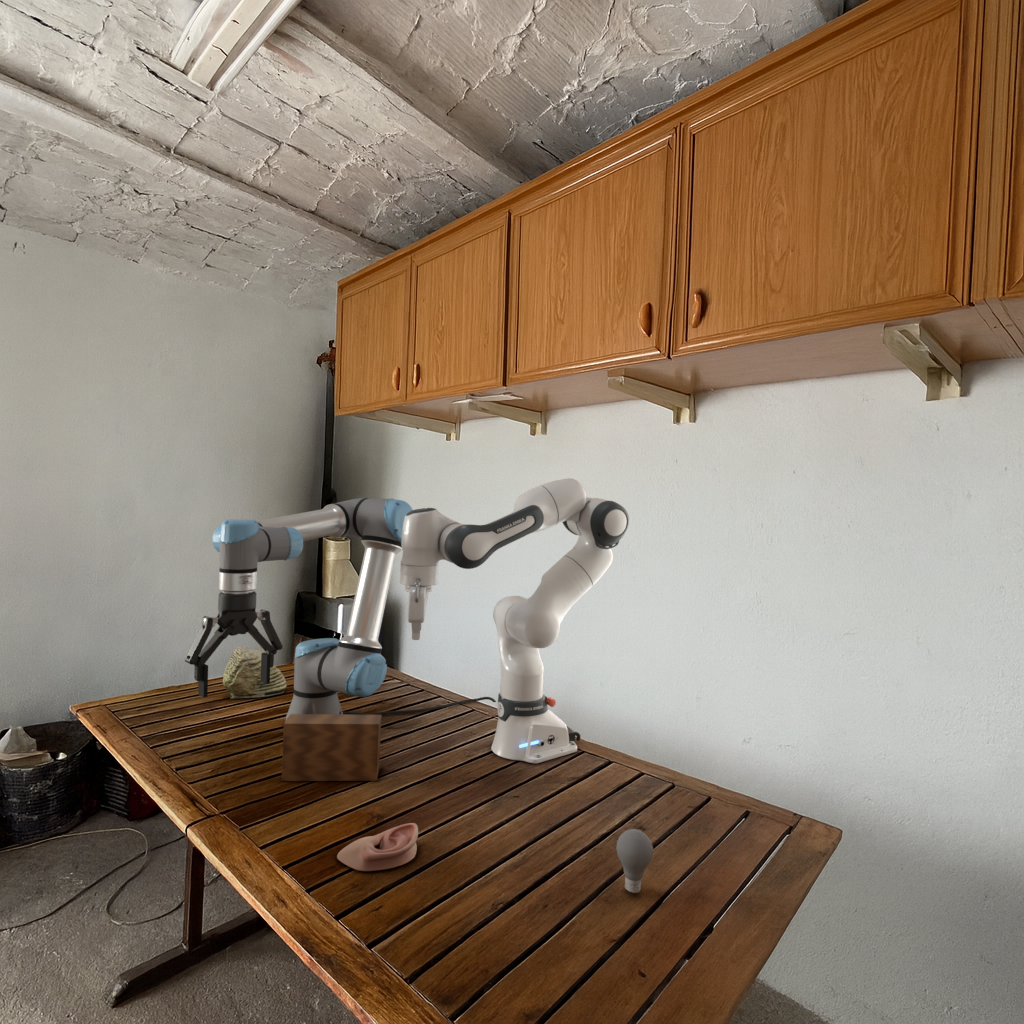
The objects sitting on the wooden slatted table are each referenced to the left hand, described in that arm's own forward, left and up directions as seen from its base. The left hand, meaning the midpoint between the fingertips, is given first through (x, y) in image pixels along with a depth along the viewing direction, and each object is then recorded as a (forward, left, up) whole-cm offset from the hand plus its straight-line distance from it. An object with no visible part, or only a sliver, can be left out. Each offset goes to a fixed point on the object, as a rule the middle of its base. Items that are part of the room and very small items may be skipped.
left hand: (235, 689), depth 137 cm
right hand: (-33, +21, +11) cm, 41 cm away
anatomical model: (-4, +44, -21) cm, 49 cm away
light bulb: (-26, +83, -21) cm, 89 cm away
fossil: (-35, -53, -21) cm, 67 cm away
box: (-18, +11, -21) cm, 30 cm away
